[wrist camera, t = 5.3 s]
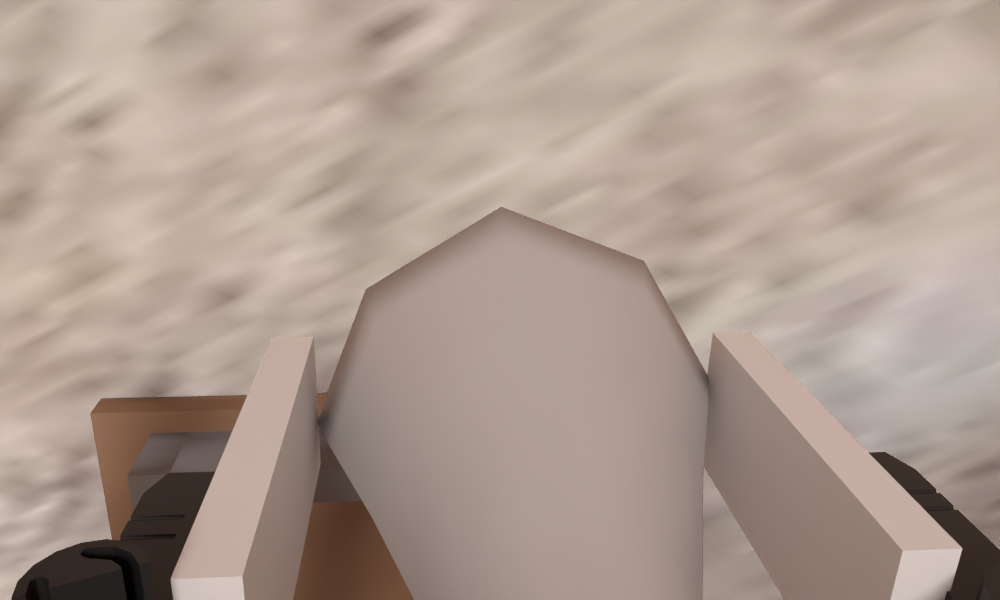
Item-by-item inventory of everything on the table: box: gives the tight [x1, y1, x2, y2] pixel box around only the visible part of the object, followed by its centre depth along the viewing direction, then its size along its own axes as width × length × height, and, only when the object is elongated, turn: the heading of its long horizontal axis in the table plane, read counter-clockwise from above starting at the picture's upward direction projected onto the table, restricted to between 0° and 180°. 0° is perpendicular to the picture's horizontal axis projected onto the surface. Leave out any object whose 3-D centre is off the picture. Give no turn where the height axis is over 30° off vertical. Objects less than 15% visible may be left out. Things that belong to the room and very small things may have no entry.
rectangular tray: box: [90, 394, 414, 600], centre depth 29 cm, size 16×14×4 cm
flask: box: [318, 207, 708, 600], centre depth 11 cm, size 7×7×10 cm
